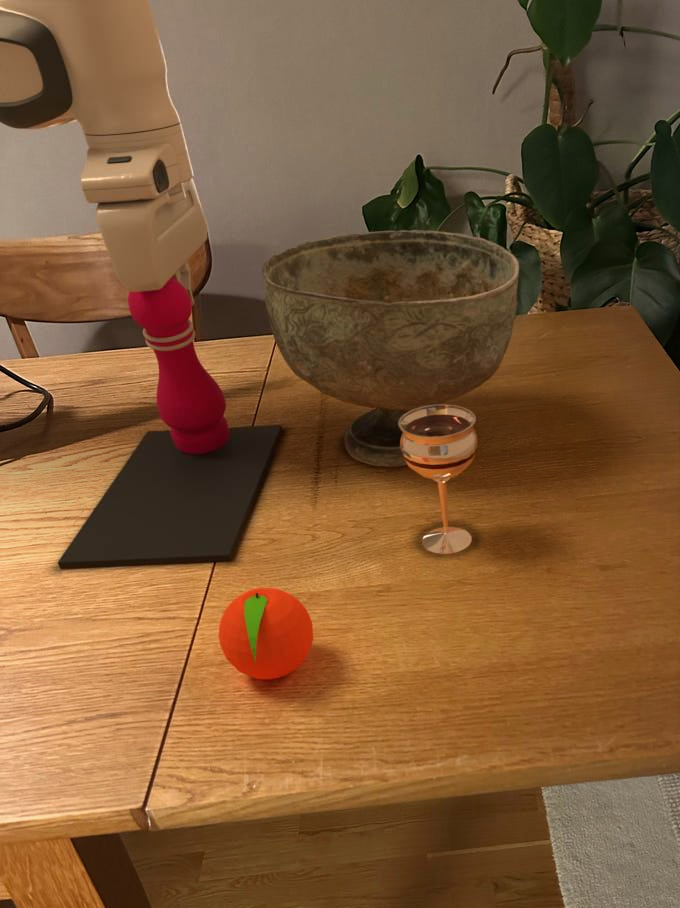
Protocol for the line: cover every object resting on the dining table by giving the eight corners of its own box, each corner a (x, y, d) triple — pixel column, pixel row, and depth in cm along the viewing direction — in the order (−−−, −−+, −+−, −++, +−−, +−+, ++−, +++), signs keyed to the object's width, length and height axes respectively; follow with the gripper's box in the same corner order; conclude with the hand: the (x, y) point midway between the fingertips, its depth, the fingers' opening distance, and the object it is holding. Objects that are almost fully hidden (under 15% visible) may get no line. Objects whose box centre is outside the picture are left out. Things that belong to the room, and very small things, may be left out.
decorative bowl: (275, 408, 103) (244, 234, 90) (473, 379, 109) (470, 211, 96) (311, 518, 84) (277, 317, 71) (548, 475, 90) (558, 282, 77)
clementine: (316, 704, 62) (298, 628, 57) (221, 712, 62) (196, 637, 57) (323, 636, 68) (308, 563, 64) (237, 644, 68) (216, 571, 63)
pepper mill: (244, 442, 95) (196, 266, 80) (184, 465, 92) (122, 287, 77) (219, 413, 99) (169, 240, 84) (160, 434, 96) (98, 259, 81)
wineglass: (476, 517, 81) (469, 400, 74) (488, 555, 76) (483, 432, 69) (407, 526, 81) (393, 408, 73) (415, 565, 76) (401, 442, 68)
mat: (60, 569, 78) (57, 562, 77) (149, 437, 99) (147, 431, 99) (230, 562, 77) (229, 554, 77) (283, 430, 99) (281, 424, 99)
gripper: (142, 147, 88) (180, 283, 97) (72, 186, 72) (125, 345, 81) (201, 142, 88) (233, 279, 97) (144, 181, 72) (189, 341, 81)
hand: (183, 310), depth 89 cm, fingers closed
